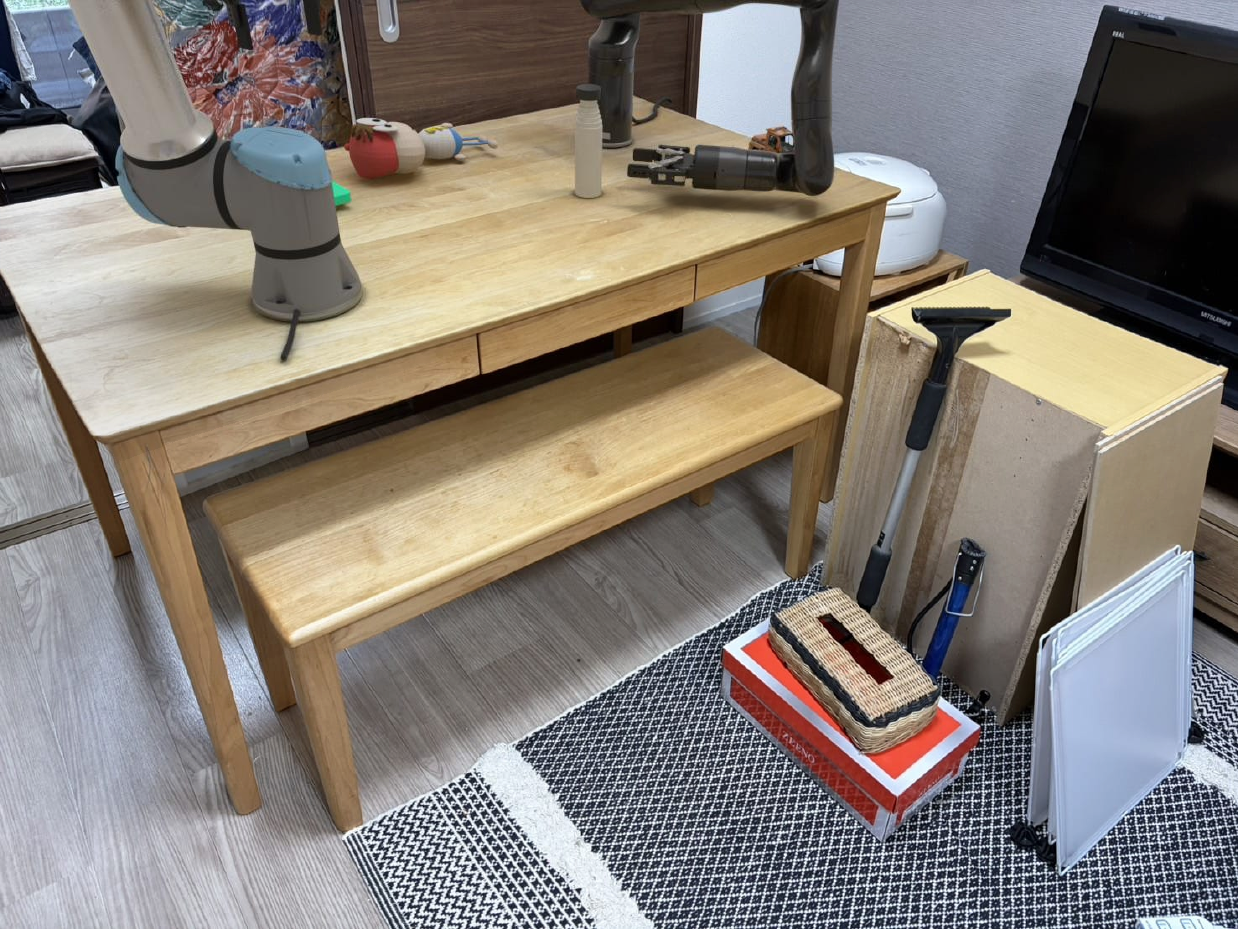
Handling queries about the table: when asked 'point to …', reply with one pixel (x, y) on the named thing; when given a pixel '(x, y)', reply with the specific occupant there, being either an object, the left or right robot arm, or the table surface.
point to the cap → (588, 92)
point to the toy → (402, 146)
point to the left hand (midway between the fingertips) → (281, 41)
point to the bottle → (588, 150)
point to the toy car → (773, 141)
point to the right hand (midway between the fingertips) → (630, 162)
